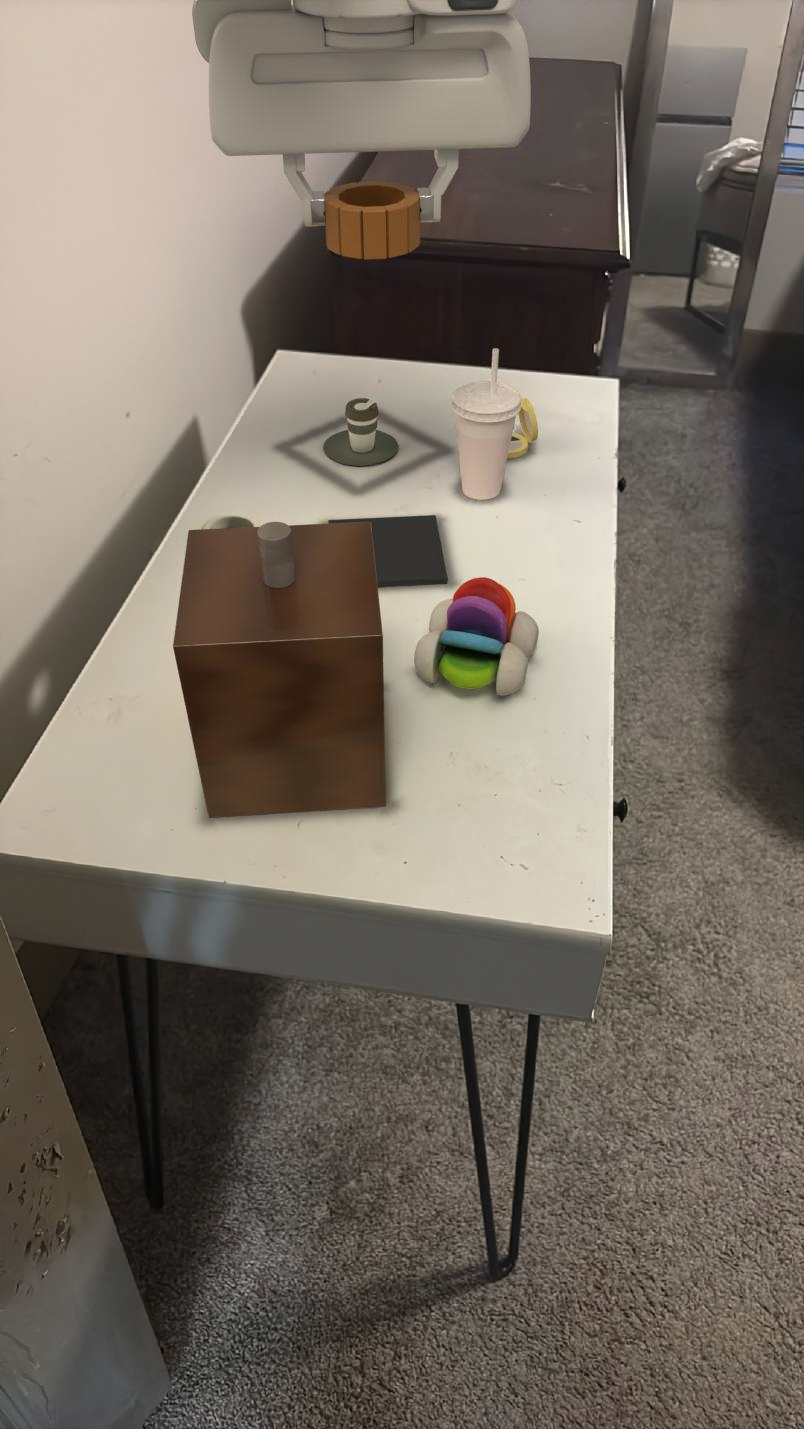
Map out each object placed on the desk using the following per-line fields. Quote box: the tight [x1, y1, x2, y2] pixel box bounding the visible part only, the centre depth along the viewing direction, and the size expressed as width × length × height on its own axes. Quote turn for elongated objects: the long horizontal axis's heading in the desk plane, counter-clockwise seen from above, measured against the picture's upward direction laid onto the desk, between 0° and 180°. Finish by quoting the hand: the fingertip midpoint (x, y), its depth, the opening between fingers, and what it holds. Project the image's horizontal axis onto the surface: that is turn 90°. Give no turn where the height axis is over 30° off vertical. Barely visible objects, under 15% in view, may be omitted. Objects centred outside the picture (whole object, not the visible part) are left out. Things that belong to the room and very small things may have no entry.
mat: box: [327, 514, 448, 588], centre depth 89 cm, size 10×10×1 cm
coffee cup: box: [322, 397, 399, 467], centre depth 102 cm, size 12×12×5 cm
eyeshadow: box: [507, 397, 539, 459], centre depth 102 cm, size 4×5×5 cm
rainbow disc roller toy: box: [413, 576, 540, 696], centre depth 76 cm, size 8×10×7 cm
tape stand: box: [172, 521, 387, 818], centre depth 65 cm, size 12×12×18 cm
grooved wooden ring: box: [324, 180, 421, 260], centre depth 68 cm, size 6×6×3 cm
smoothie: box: [450, 347, 522, 501], centre depth 93 cm, size 6×6×14 cm
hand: (373, 222), depth 68 cm, fingers closed on grooved wooden ring, 6 cm apart
